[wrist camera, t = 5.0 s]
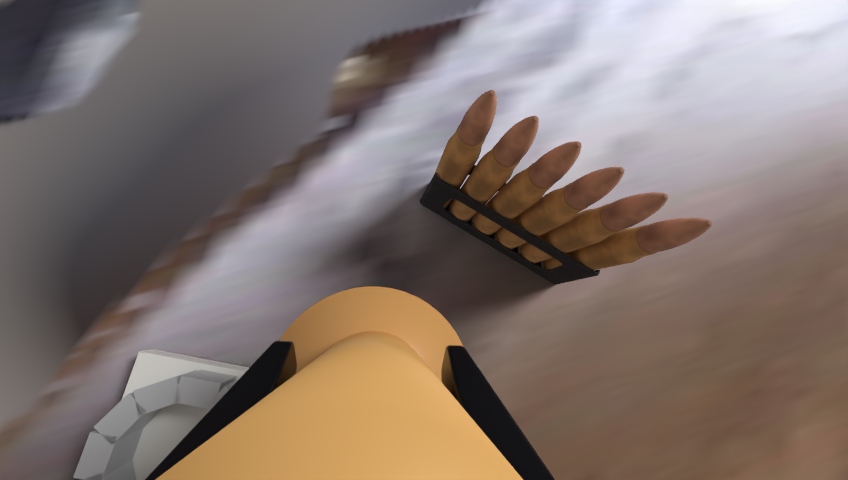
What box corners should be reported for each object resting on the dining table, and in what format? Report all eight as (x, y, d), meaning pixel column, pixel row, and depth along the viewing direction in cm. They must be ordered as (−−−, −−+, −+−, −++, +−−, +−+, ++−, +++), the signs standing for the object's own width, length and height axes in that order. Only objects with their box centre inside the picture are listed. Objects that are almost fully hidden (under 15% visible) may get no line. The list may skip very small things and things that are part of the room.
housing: (261, 546, 19) (237, 592, 16) (92, 520, 18) (33, 562, 15) (304, 378, 21) (291, 389, 18) (153, 349, 20) (111, 356, 17)
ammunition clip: (418, 202, 24) (456, 97, 12) (432, 180, 24) (481, 58, 13) (556, 285, 24) (725, 259, 12) (567, 261, 24) (742, 215, 13)
